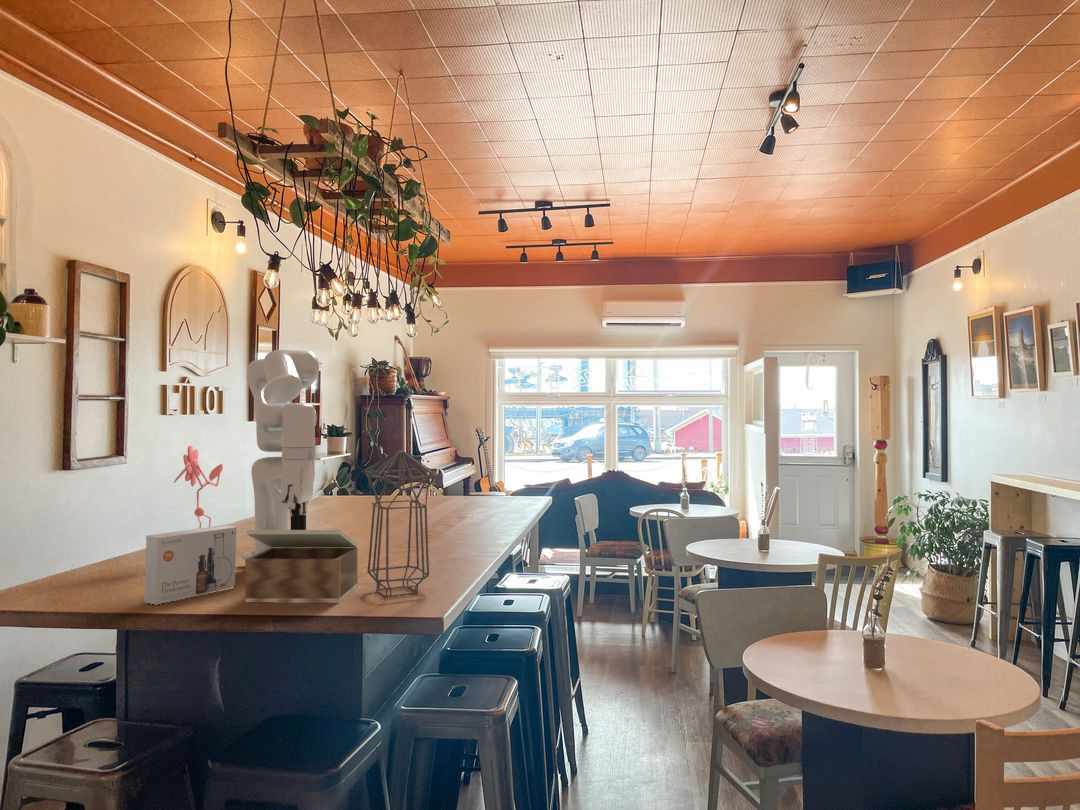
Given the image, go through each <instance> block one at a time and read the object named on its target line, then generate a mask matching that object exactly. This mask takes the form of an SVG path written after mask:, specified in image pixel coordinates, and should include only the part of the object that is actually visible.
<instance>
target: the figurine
mask: <svg viewBox="0 0 1080 810" xmlns="http://www.w3.org/2000/svg"><path fill="white" fill-rule="evenodd" d="M182 460H183V464H184V465H185V467H184V469H182V470H181V471H180V472H179V474H178V476H176V478H174V481H173V483H174V484H175V483H176V482H177V481H178V480H179V479H180V478H181V477H182V475H184V474H185V475H184V481H185V482H189V481H190V486H191V487H194V486H195V485H196V483H197V481H198V484H199V485H200V487H199V488H198V489H197V491H196V509H194V515H195V517H196V518H197V520H198V522H199V527H198V529H199V528H202V521H201V519H200V517H202V516H204V517H205V518H208V520H209V521H208V527H211V521H212V520H211V519H212V518H211V517H210V516H208V515H206V514H205V510H204V509H203V508H202V507H200V505H199V503H200V501H199V499H200V498H199V495H200V491H201V490H202V489H204V488H205V487H206V486H207V485H210V486H214V487H218V485H219V483H220V479H221V478H220V477H221V473H222V471H223V470H224V469H223V467H224V466H223V464H222V463H220V464H218V465H216V466H215V467H214V468H213V469H212V470H211V471H210V473H209V475H208V478H209V480H208V479H207V477H206V476H205V474H204V473H203V471H202V469H201V466H200V464H199V449H198V448H195V449H194V448H193V445H192V444H191V445H188V446H187V454H186V453H184V454H183V459H182ZM199 476H202V478H203V479H204V481H205V482H203V483H202V482H201V480H200V477H199ZM216 478H217V480H216V483H213V482H212V481H214V479H216Z"/></svg>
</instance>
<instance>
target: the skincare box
mask: <svg viewBox="0 0 1080 810" xmlns="http://www.w3.org/2000/svg"><path fill="white" fill-rule="evenodd" d="M237 531H238V530H237V526H234V525H233V526H232V525H227V524H223V525H215V526H210V527H209V526H207V527H201V528H199V527H198V528H192V529H185V530H179V531H171V532H163V533H162V532H161V533H155V534H148V535H145V540H146V541H145V542H146V544H145V545H146V546H145V566H144V567H145V568H144V598H143V602H147V603H146V604H148V603H152V604H160V603H165V602H169V603H171V602H170V601H174V602H176V601H175V600H178V601H180V600H179V599H183V598H187V597H192V596H196V595H201V594H205V593H209V592H213V591H218V590H222V589H227V588H231V587H234V586H235V587H236V563H237V562H236V555H237ZM183 600H184V599H183ZM152 604H151V605H152ZM165 604H166V603H165ZM160 605H161V604H160Z"/></svg>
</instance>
